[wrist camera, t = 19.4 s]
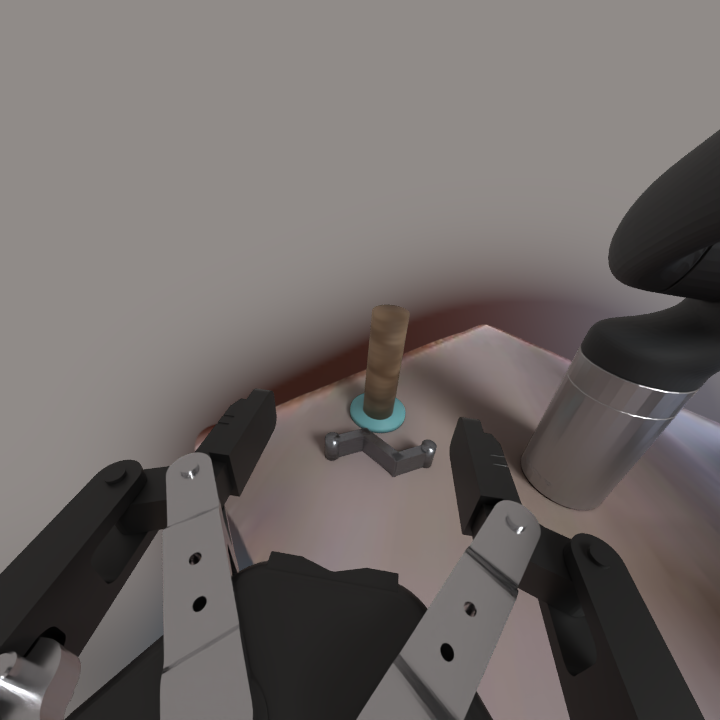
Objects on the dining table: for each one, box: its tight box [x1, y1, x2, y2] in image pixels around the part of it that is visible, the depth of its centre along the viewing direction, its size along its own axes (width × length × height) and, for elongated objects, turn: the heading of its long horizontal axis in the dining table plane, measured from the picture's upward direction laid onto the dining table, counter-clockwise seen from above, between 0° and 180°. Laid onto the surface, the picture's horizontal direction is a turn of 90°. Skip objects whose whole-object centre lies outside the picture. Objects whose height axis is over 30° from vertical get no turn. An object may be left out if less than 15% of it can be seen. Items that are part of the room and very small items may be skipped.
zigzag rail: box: [325, 428, 437, 477], centre depth 37 cm, size 14×5×3 cm, turn 88°
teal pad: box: [350, 393, 405, 433], centre depth 45 cm, size 8×8×1 cm
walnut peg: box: [363, 305, 409, 420], centre depth 41 cm, size 5×5×16 cm
